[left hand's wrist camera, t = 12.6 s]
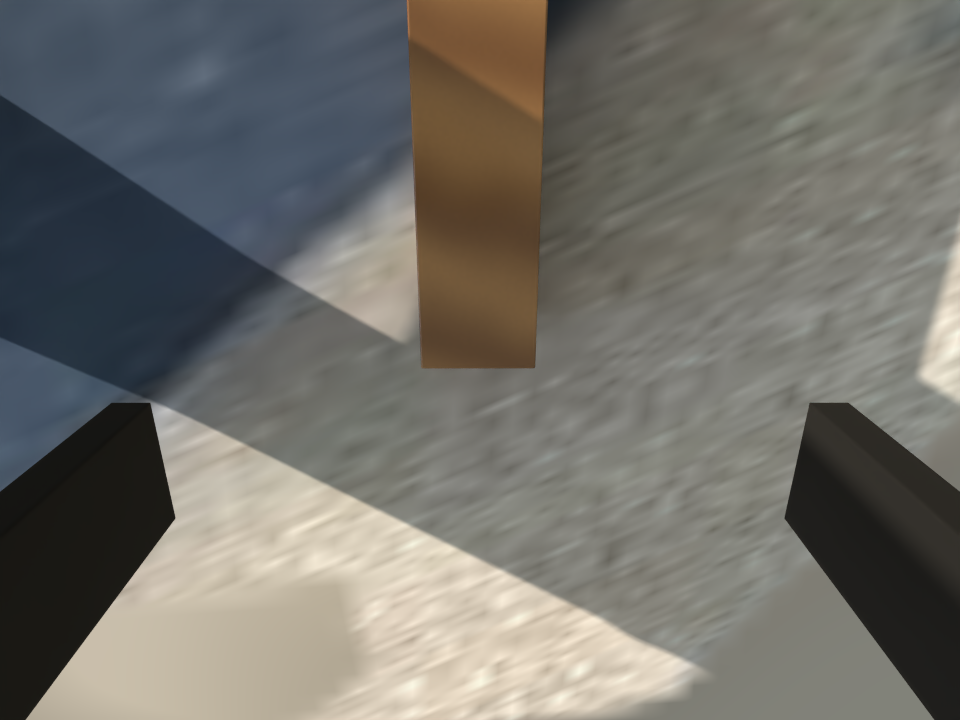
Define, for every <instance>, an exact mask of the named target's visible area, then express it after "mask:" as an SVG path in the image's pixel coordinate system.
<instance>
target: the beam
mask: <svg viewBox="0 0 960 720" xmlns="http://www.w3.org/2000/svg"><path fill="white" fill-rule="evenodd" d="M547 11H548V0H407V16H408V41H409V67H410V92H411V118H412V143H413V169H414V194H415V220H416V246H417V271H418V297H419V322H420V348H421V367H422V368H535V355H536V327H537V298H538V269H539V241H540V212H541V183H542V155H543V126H544V97H545V69H546V40H547Z"/></svg>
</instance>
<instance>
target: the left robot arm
mask: <svg viewBox="0 0 960 720" xmlns="http://www.w3.org/2000/svg"><path fill="white" fill-rule="evenodd" d="M174 520H175V514H174V509H173V505H172V500H171V496H170V491H169V486H168V482H167V477H166V473H165V468H164V464H163V459H162V454H161V450H160V445H159V441H158V436H157V432H156V427H155V422H154V418H153V413H152V409H151V404H150V403H111V404H110V405H108V406H107V407H106V408H105V409H103V410H102V411H101V412H100V413H98V414H97V415H96V416H95V417H93V418H92V419H91V420H90V421H88V422H87V423H86V424H85V425H83V426H82V427H81V428H80V429H78V430H77V431H76V432H75V433H73V434H72V435H71V436H70V437H68V438H67V439H66V440H65V441H63V442H62V443H61V444H60V445H58V446H57V447H56V448H55V449H53V450H52V451H51V452H50V453H48V454H47V455H46V456H45V457H43V458H42V459H41V460H39V461H38V462H37V463H36V464H34V465H33V466H32V467H31V468H29V469H28V470H27V471H26V472H24V473H23V474H22V475H21V476H19V477H18V478H17V479H16V480H14V481H13V482H12V483H11V484H9V485H8V486H7V487H6V488H4V489H3V490H2V491H1V492H0V720H26V718H27V717H28V716H29V714H30V713H31V712H32V710H33V709H34V708H35V706H36V705H37V704H38V702H39V701H40V700H41V698H42V697H43V696H44V694H45V693H46V692H47V690H48V689H49V688H50V686H51V685H52V684H53V682H54V681H55V679H56V678H57V677H58V675H59V674H60V673H61V671H62V670H63V669H64V667H65V666H66V665H67V663H68V662H69V661H70V659H71V658H72V657H73V655H74V654H75V653H76V651H77V650H78V648H79V647H80V646H81V645H82V643H83V642H84V640H85V639H86V638H87V636H88V635H89V634H90V632H91V631H92V630H93V628H94V627H95V626H96V624H97V623H98V622H99V620H100V619H101V618H102V616H103V615H104V614H105V612H106V611H107V610H108V608H109V607H110V606H111V604H112V603H113V602H114V600H115V599H116V598H117V596H118V595H119V594H120V592H121V591H122V589H123V588H124V587H125V585H126V584H127V583H128V581H129V580H130V579H131V577H132V576H133V575H134V573H135V572H136V571H137V569H138V568H139V567H140V565H141V564H142V563H143V561H144V560H145V559H146V557H147V556H148V555H149V553H150V552H151V551H152V549H153V548H154V546H155V545H156V544H157V542H158V541H159V540H160V538H161V537H162V536H163V534H164V533H165V532H166V530H167V529H168V528H169V526H170V525H171V524H172V522H173V521H174ZM785 520H786V521H787V522H788V524H789V525H790V526H791V528H792V529H793V530H794V532H795V533H796V534H797V536H798V537H799V538H800V540H801V541H802V542H803V544H804V545H805V546H806V548H807V549H808V551H809V552H810V553H811V555H812V556H813V557H814V559H815V560H816V561H817V563H818V564H819V565H820V567H821V568H822V569H823V571H824V572H825V573H826V575H827V576H828V577H829V579H830V580H831V581H832V583H833V584H834V585H835V587H836V588H837V589H838V591H839V592H840V593H841V595H842V596H843V597H844V599H845V600H846V602H847V603H848V604H849V606H850V607H851V608H852V610H853V611H854V612H855V614H856V615H857V616H858V618H859V619H860V620H861V622H862V623H863V624H864V626H865V627H866V628H867V630H868V631H869V632H870V634H871V635H872V636H873V638H874V639H875V640H876V642H877V643H878V645H879V646H880V647H881V648H882V650H883V651H884V652H885V654H886V655H887V657H888V658H889V659H890V661H891V662H892V663H893V665H894V666H895V667H896V669H897V670H898V671H899V673H900V674H901V675H902V677H903V678H904V679H905V681H906V682H907V683H908V685H909V686H910V688H911V689H912V690H913V692H914V693H915V694H916V696H917V697H918V698H919V700H920V701H921V702H922V704H923V705H924V706H925V708H926V709H927V710H928V712H929V713H930V714H931V716H932V717H933V718H934V720H960V492H959V491H958V490H957V489H956V488H954V487H953V486H952V485H951V484H949V483H948V482H947V481H946V480H944V479H943V478H942V477H941V476H939V475H938V474H937V473H935V472H934V471H933V470H932V469H931V468H929V467H928V466H927V465H926V464H924V463H923V462H922V461H921V460H919V459H918V458H917V457H915V456H914V455H913V454H912V453H910V452H909V451H908V450H907V449H905V448H904V447H903V446H902V445H900V444H899V443H898V442H897V441H895V440H894V439H893V438H892V437H890V436H889V435H888V434H887V433H885V432H884V431H883V430H882V429H880V428H879V427H878V426H877V425H875V424H874V423H873V422H872V421H870V420H869V419H868V418H867V417H865V416H864V415H863V414H862V413H860V412H859V411H858V410H857V409H855V408H854V407H853V406H852V405H850V404H849V403H810V404H809V409H808V413H807V418H806V422H805V427H804V432H803V436H802V441H801V445H800V450H799V454H798V459H797V464H796V468H795V473H794V477H793V482H792V486H791V491H790V496H789V500H788V505H787V509H786V514H785Z"/></svg>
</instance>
